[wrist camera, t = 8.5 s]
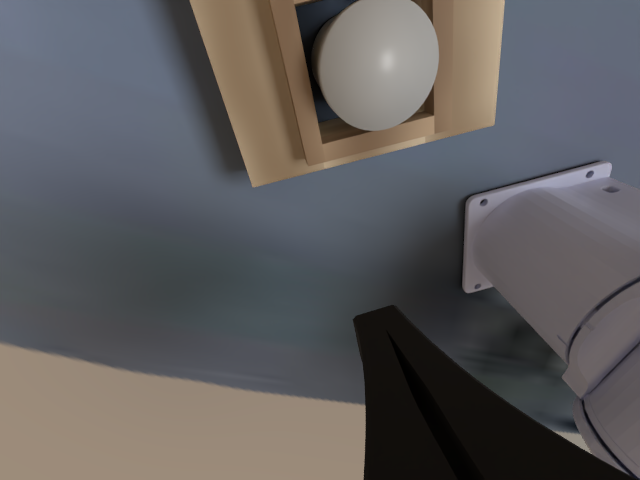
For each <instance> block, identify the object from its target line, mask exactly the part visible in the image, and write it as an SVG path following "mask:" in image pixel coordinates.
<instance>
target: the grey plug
mask: <svg viewBox="0 0 640 480" xmlns="http://www.w3.org/2000/svg"><path fill="white" fill-rule="evenodd" d="M438 63H439V47H438V40H437V36H436V33H435V29H434V27H433V25H432V23H431V21H430V19H429V18H428V16H427V15H426V13H425V12H424V11H423V10H422V9H421V8H420V7H419V6H418V5H417V4H415V3H414V2H413V1H411V0H358V1H356V2H354V3H352V4H350V5H349V6H348V7H346V8H345V9H344V10H343V11H341V12H340V13H339V14H338V15H336V16H334V17H332V18H331V19H329V20H328V21H327V22H326V23H325V24H324V25H323V27H322V28H321V29H320V31H319V32H318V34H317V36H316V38H315V41H314V44H313V47H312V53H311V66H312V72H313V75H314V78H315V80H316V82H317V84H318V86H319V87H320V89H321V91H322V94H323V96H324V98H325V100H326V102H327V103H328V105H329V106H330V107H331V109H332V110H333V111H334V112H335V113H336V114H337V115H338V116H339V117H340V118H341V119H342V120H344V121H345V122H346V123H348V124H350V125H351V126H354V127H356V128H359V129H363V130H369V131H379V130H385V129H389V128H392V127H394V126H396V125H399V124H401V123H402V122H404V121H405V120H407V119H408V118H409V117H411V116H412V115H413V114H414V113H415V112H416V111H417V110H418V109H419V108H420V106H421V105H422V104H423V103H424V101H425V100H426V98H427V97H428V95H429V93H430V91H431V89H432V86H433V84H434V81H435V78H436V74H437V70H438Z"/></svg>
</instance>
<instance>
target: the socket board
mask: <svg viewBox="0 0 640 480" xmlns="http://www.w3.org/2000/svg"><path fill="white" fill-rule="evenodd" d="M318 1H322V0H190V3H191V6H192V9H193V12H194V15H195V18H196V21H197V24H198V27H199V30H200V33H201V36H202V39H203V41H204V44H205V47H206V50H207V53H208V56H209V59H210V62H211V65H212V68H213V71H214V74H215V77H216V80H217V83H218V86H219V89H220V92H221V95H222V98H223V101H224V104H225V107H226V110H227V113H228V115H229V118H230V121H231V124H232V127H233V130H234V133H235V136H236V139H237V142H238V145H239V148H240V151H241V154H242V157H243V160H244V163H245V166H246V169H247V172H248V175H249V178H250V181H251V184H252V186H253V187H257V186H261V185H265V184H268V183H272V182H276V181H280V180H284V179H288V178H292V177H295V176H299V175H303V174H307V173H311V172H315V171H319V170H323V169H326V168H330V167H334V166H338V165H342V164H346V163H350V162H354V161H357V160H361V159H365V158H369V157H373V156H377V155H381V154H384V153H388V152H392V151H396V150H400V149H404V148H408V147H412V146H415V145H419V144H423V143H427V142H431V141H435V140H439V139H443V138H446V137H450V136H454V135H458V134H462V133H466V132H470V131H474V130H477V129H481V128H485V127H489V126H493V125H494V124H495V112H496V100H497V88H498V76H499V64H500V52H501V40H502V28H503V15H504V3H505V0H411V1H413V2H414V3H415V4H417V5H418V6H419V7H420V8H421V9H422V10H423V11H424V12H425V13H426V15H427V16H428V18H429V19H430V21H431V23H432V25H433V27H434V29H435V33H436V36H437V40H438V47H439V63H438V70H437V74H436V78H435V81H434V84H433V86H432V89H431V91H430V93H429V95H428V97H427V98H426V100H425V101H424V103H423V104H422V105H421V106H420V108H419V109H418V110H417V111H416V112H415V113H414V114H413V115H412V116H411V117H409V118H408V119H407V120H405V121H404V122H402V123H401V124H399V125H396V126H394V127H392V128H389V129H385V130H379V131H369V130H363V129H359V128H356V127H354V126H351V125H350V124H348V123H346V122H345V121H344V120H342V119H341V118H336V119H332V120H328V121H324V122H320V123H318V120H317V115H316V110H315V105H314V100H313V95H312V90H311V85H310V80H309V75H308V70H307V65H306V60H305V55H304V50H303V45H302V40H301V35H300V30H299V25H298V20H297V15H296V10H295V7H297V6H301V5H305V4H309V3H314V2H318Z"/></svg>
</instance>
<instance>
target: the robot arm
mask: <svg viewBox="0 0 640 480" xmlns="http://www.w3.org/2000/svg"><path fill="white" fill-rule="evenodd" d="M611 169H612V165H611V163H609V162H606V161H601V162H597V163H593V164H589V165H586V166H582V167H578V168H574V169H571V170H567V171H563V172H559V173H555V174H552V175H548V176H544V177H540V178H537V179H533V180H529V181H525V182H522V183H518V184H514V185H510V186H507V187H503V188H499V189H495V190H491V191H488V192H484V193H480V194H476V195H473V196H471V197H470V198H468V200H467V201H466V208H465V232H464V256H463V280H462V288H463V290H464V291H465V292H466V293H472V292H475V291H479V290H483V289H486V288H490V287H495V288H496V289H497V290H498V291H499V292H500V294H501V295H502V296H503V297H504V298H505V299H506V300H507V301H508V302H509V303H510V304H511V305H512V306H513V307H514V308H515V309H516V310H517V312H518V313H519V314H520V315H521V316H522V317H523V318H524V319H525V320H526V321H527V322H528V323H529V324H530V325H531V326H532V327H533V328H534V330H535V331H536V332H537V333H538V334H539V335H540V336H541V337H542V338H543V339H544V340H545V341H546V342H547V343H548V344H549V345H550V347H551V348H552V349H553V350H554V351H555V352H556V353H557V354H558V355H559V356H560V357H561V358H562V359H563V360H564V361H565V362H566V363H567V365H568V368H567V370H566V372H565V373H564V374H563V376H562V378H563V380H564V381H565V382H566V383H567V384H568V385H569V386H570V387H571V389H572V390H573V391H574V392H575V393H576V394H577V396H576V398H575V400H574V402H573V407H572V410H573V417H574V420H575V423H576V426H577V428H578V430H579V432H580V434H581V436H582V438H583V439H584V441H585V443H586V445H587V447H588V448H589V450H590V452H591V453H592V454H593V455H592V454H590V453H588V452H587V451H585V450H583V449H581V448H580V447H578V446H576V445H575V444H573V443H572V442H570V441H568V440H567V439H565V438H563V437H562V436H560V435H558V434H557V433H555V432H553V431H552V430H550V429H548V428H547V427H545V426H543V425H542V424H540V423H538V422H537V421H535V420H534V419H532V418H531V417H529V416H528V415H526V414H525V413H523V412H522V411H520V410H519V409H517V408H516V407H514V406H513V405H511V404H510V403H508V402H507V401H505V400H504V399H503V398H501V397H500V396H498V395H497V394H496V393H494V392H493V391H491V390H490V389H489V388H487V387H486V386H485V385H483V384H482V383H481V382H479V381H478V380H477V379H475V378H474V377H473V376H472V375H470V374H469V373H468V372H467V371H465V370H464V369H463V368H461V367H460V366H459V365H458V364H457V363H455V362H454V361H453V360H452V359H451V358H449V357H448V356H447V355H446V354H445V353H444V352H443V351H441V350H440V349H439V348H438V347H437V346H436V345H435V344H433V343H432V342H431V341H430V340H429V339H428V338H427V337H426V336H425V335H424V334H423V333H422V332H421V331H420V330H419V329H417V328H416V327H415V326H414V325H413V324H412V323H411V322H410V321H409V320H408V319H407V318H406V316H405V315H404V314H403V313H402V312H401V311H400V310H399V309H398V308H397V307H396V306H394V305H390V306H387V307H384V308H380V309H377V310H374V311H371V312H367V313H364V314H361V315H357V316H355V318H354V319H353V322H354V327H355V332H356V337H357V342H358V347H359V351H360V356H361V359H362V362H363V370H364V380H365V405H366V439H365V441H366V442H365V466H364V480H640V190H639V189H637V188H634V187H632V186H629V185H627V184H625V183H622V182H620V181H617V180H615V179H612V178H610V177H609V176H610V172H611ZM483 199H484V201H483V202H482V203H481V204H480V202H481V201H482V200H483ZM476 284H477V285H476Z"/></svg>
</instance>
